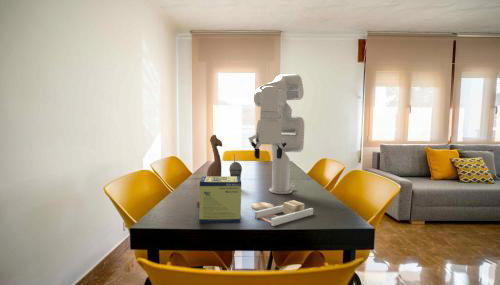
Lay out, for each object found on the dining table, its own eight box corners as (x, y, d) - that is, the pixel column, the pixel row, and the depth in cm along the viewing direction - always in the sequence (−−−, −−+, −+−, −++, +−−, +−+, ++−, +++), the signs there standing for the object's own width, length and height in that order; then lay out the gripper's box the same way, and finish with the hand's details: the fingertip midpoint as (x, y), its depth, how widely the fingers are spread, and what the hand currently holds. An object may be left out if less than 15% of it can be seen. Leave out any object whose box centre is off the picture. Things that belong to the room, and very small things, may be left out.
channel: (294, 207, 114) (294, 202, 114) (313, 214, 106) (313, 208, 106) (255, 217, 101) (255, 211, 101) (272, 226, 93) (273, 219, 92)
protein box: (241, 223, 95) (241, 181, 94) (198, 223, 94) (198, 181, 93) (239, 213, 106) (240, 176, 105) (201, 214, 104) (201, 176, 103)
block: (293, 210, 111) (293, 200, 110) (304, 214, 106) (304, 203, 105) (283, 213, 107) (283, 202, 107) (293, 217, 102) (294, 206, 102)
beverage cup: (237, 191, 142) (237, 155, 140) (226, 189, 145) (226, 154, 144) (244, 188, 148) (244, 154, 146) (233, 187, 152) (234, 153, 150)
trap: (272, 214, 105) (272, 213, 105) (286, 220, 99) (286, 219, 98) (259, 218, 100) (259, 217, 100) (272, 224, 94) (272, 223, 94)
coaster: (264, 202, 122) (264, 201, 121) (278, 207, 114) (278, 206, 113) (246, 206, 116) (246, 204, 116) (260, 212, 108) (261, 210, 108)
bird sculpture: (221, 209, 111) (224, 135, 109) (196, 206, 113) (198, 134, 112) (228, 202, 122) (231, 135, 120) (205, 200, 124) (208, 133, 123)
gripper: (284, 118, 112) (283, 157, 113) (246, 116, 107) (245, 157, 107) (292, 117, 105) (291, 159, 106) (252, 115, 100) (251, 159, 100)
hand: (268, 158), depth 106 cm, fingers open, 9 cm apart
